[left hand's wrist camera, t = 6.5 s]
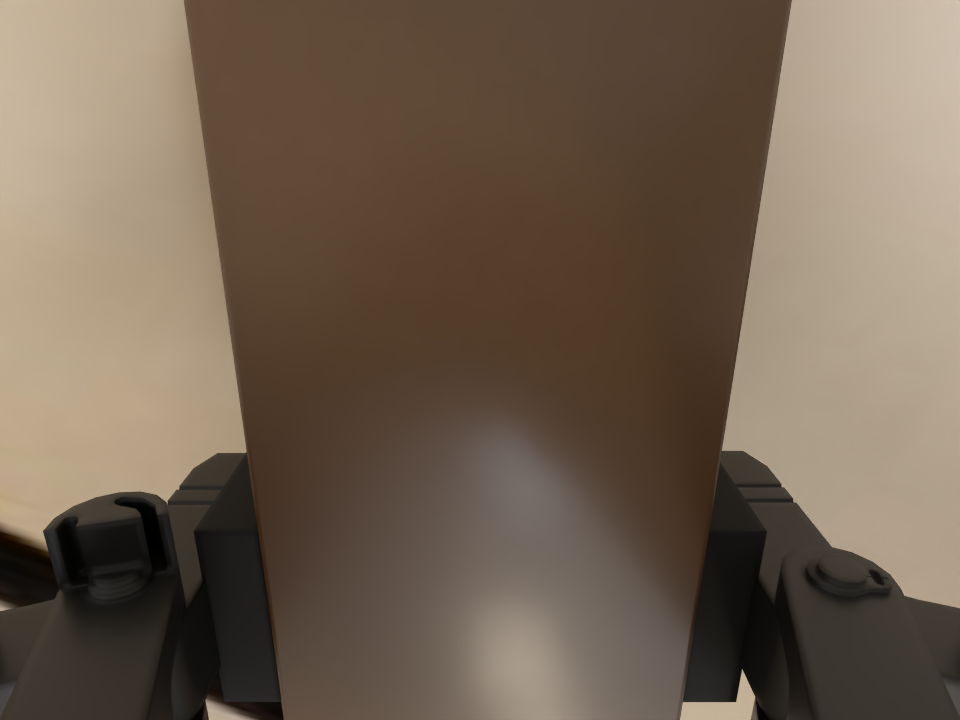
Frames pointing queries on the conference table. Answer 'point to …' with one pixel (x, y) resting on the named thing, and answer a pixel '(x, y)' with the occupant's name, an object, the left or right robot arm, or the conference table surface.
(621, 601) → the beam
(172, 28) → the conference table surface
